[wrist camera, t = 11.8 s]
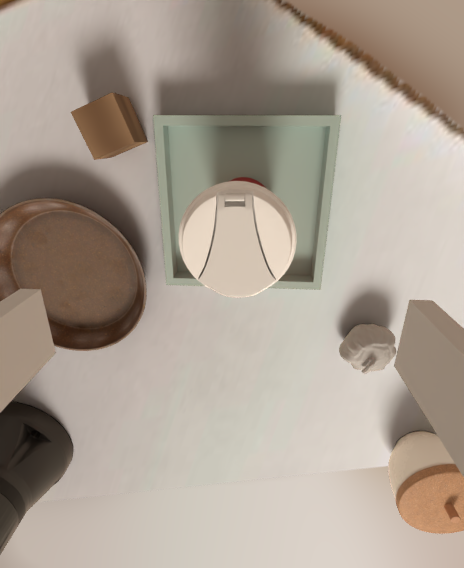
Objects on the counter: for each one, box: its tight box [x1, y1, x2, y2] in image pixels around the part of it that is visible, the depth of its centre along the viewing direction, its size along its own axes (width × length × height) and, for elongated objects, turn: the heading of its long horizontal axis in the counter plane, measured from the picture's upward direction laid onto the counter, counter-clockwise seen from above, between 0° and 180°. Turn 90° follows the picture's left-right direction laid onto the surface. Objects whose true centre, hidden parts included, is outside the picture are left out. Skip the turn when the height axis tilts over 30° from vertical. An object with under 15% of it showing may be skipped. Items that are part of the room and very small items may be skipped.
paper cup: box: [179, 177, 297, 298], centre depth 27 cm, size 8×8×14 cm
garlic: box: [339, 324, 396, 374], centre depth 37 cm, size 6×5×5 cm
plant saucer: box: [0, 198, 146, 351], centre depth 37 cm, size 18×18×3 cm
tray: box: [153, 115, 341, 290], centre depth 33 cm, size 16×16×2 cm
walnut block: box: [71, 93, 148, 160], centre depth 30 cm, size 4×4×4 cm
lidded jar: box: [388, 431, 464, 533], centre depth 41 cm, size 11×11×9 cm
